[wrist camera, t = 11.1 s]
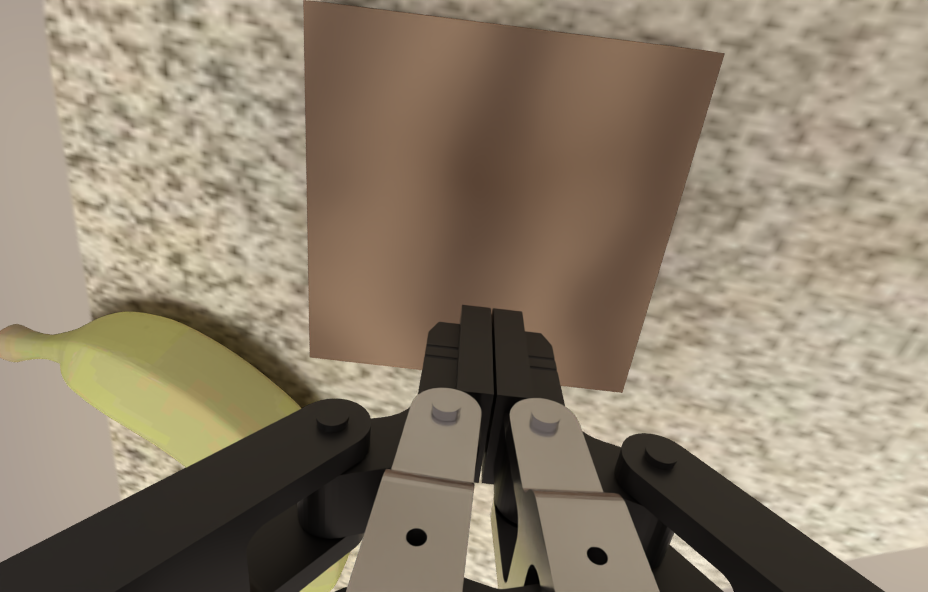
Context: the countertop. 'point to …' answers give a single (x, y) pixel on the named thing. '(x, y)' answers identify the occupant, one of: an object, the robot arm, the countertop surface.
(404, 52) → the walnut board
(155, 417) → the banana
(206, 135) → the countertop surface
